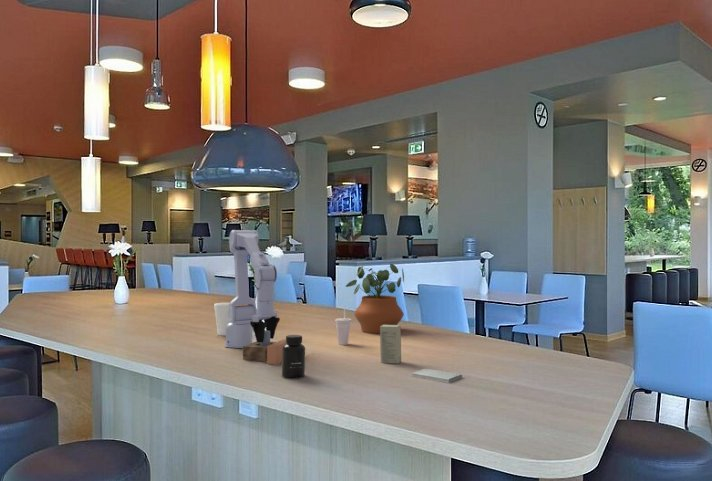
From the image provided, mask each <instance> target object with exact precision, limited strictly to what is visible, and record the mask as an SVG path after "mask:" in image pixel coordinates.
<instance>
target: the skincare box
mask: <svg viewBox="0 0 712 481" xmlns="http://www.w3.org/2000/svg"><path fill="white" fill-rule="evenodd" d="M401 326H402V325H401V324H398V325H382V326H380V334H379V337H380V338H379V339H380V341H379V342H380V363H384V364H399V363H400V362H402V332H401V329H402V327H401Z"/></svg>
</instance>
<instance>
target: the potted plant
mask: <svg viewBox="0 0 712 481" xmlns="http://www.w3.org/2000/svg"><path fill="white" fill-rule="evenodd" d="M388 268H390V270H391V271H392V272H391V273H390V271H389V270H388V269H383V270H382V269H380V270H378V271H377V272H376V271H374V270H373V268H368V267H366V268H365V269H366V271H368V272H369V273H368V274H367V275H366V274H365V269H364V265H362V266H358V267H357V272H356V277H357V278H358V279H363V280H362V282H361V283H362V284H360V283H358V284H357V282H358V280H357V279H354V280H351V281H349V282H348V283H347V284H346V285H345V287H346V288H348V287H352V286H356V287H355V288H354V291H353V295H355V294H357V293H358V291H359V289H361V291H363V292H364V293H365V294H366V295H363V296H361V302H360V304H359V305H358V306H357V308H356V309H355V312H354V317H355V319H356V320H357V322H358V323H359V324H360V330H361V332H364V333H366V332H368V333H369V334H377V333H380V326H382V325H399V323H400V322H401V320H402V319H403V317H404V315H405V314H404V311H403V309H402V308H401V307H400V306H399V304H398V301H397V296H394V295H386V294H385V295H381V294H382V293H385V292H386V291H388V292H389V293H390V294H394V292H396V291H397V290H396V287H397V288H400V287H401V285H402V284H401V283H402V282H403V283H405V273H404V268H403V267H402V268H401V273H402V277H401V276H400V277H399V278H397V277H396V278H397V281H396V283H395V282H393V281H392V282H389V281H391V279H390V275H391V274H392V273H394V274H399V268H398V267H397V266H396V265H395V264H394V263H390V264H389V266H388ZM365 275H366V276H365ZM364 276H365V277H364ZM388 280H389V281H388ZM385 281H386V282H385ZM384 282H385V283H384ZM360 285H361V286H360ZM361 287H362V288H361ZM371 287H372V288H373V289H374V292H375V293H374V292H373V291H372V290H371ZM385 287H386V289H385V290H383V289H384V288H385ZM370 292H371V293H372V295H370V294H371V293H370Z"/></svg>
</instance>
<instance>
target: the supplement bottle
mask: <svg viewBox="0 0 712 481" xmlns="http://www.w3.org/2000/svg"><path fill="white" fill-rule="evenodd" d="M285 339H286V343H287V344H286V345H284V346H283V348H282V362H281V376H282V377H283V378H285V379H293V380H294V379H301V378H303V377H305V374H306V347H305V345H304V344H302V343H303V335H302V334H301V335H300V334H287V335H286V336H285Z"/></svg>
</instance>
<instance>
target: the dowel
mask: <svg viewBox="0 0 712 481" xmlns="http://www.w3.org/2000/svg"><path fill="white" fill-rule="evenodd" d="M270 342H271V339H270V331H266V330H265V332H264V340H263V342H260V346H268V345H270Z"/></svg>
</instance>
